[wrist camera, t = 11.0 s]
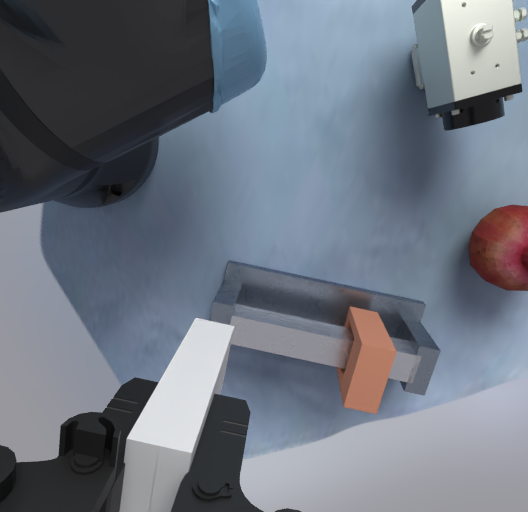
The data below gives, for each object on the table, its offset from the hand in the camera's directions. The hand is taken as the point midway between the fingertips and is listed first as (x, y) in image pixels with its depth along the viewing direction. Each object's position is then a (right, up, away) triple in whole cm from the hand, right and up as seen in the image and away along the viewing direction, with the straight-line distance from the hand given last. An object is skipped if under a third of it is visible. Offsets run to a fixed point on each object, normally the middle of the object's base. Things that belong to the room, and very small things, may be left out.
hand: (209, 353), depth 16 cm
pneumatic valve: (+18, +22, +23) cm, 37 cm away
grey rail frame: (+8, -3, +31) cm, 32 cm away
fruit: (+26, +6, +27) cm, 38 cm away
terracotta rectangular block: (+12, -5, +28) cm, 31 cm away
